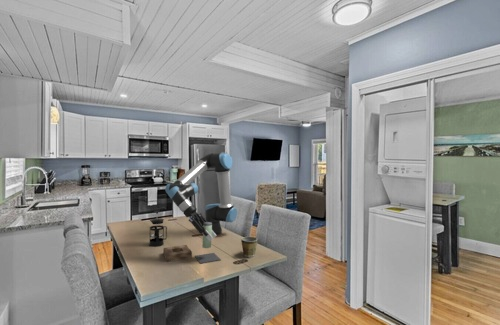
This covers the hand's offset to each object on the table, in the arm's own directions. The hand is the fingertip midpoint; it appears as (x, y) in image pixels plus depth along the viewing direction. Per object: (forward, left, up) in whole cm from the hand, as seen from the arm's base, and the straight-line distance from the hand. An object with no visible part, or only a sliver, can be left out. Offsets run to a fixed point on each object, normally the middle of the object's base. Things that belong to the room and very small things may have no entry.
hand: (213, 238), depth 147 cm
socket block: (+17, -15, -12) cm, 26 cm away
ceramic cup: (-23, +1, -13) cm, 26 cm away
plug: (+3, -2, -5) cm, 7 cm away
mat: (+2, -3, -12) cm, 13 cm away
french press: (+25, -42, -13) cm, 50 cm away
